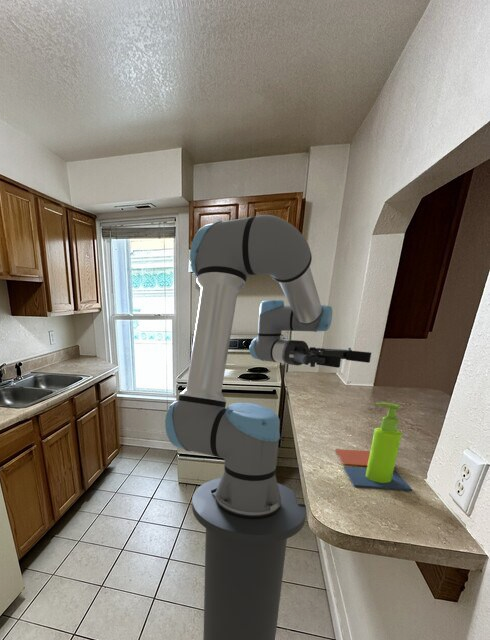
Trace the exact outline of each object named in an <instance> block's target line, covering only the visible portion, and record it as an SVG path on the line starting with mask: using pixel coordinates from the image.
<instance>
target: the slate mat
mask: <svg viewBox="0 0 490 640" xmlns="http://www.w3.org/2000/svg"><path fill="white" fill-rule="evenodd" d="M343 469H344V471H345V472H346V474H347V476H348V478H349V480H350V481H351V483H352V485H353V486H354V487H355V488H356V487H357V488H367V489H379V490H393V491H406V492H413V489H412V488H411V486H410V485H409V484H408V482H406V480H405V479H404V478H403V477H402V476H401V475H400V474H399V473H398V471H397V470H396V469H394V471H393V475H392V480H391V482H388V483H379V482H375V481H372V480H370V479H368V478H367V477H366V471H367V467H359V466H343Z"/></svg>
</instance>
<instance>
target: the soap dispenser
mask: <svg viewBox="0 0 490 640" xmlns="http://www.w3.org/2000/svg"><path fill="white" fill-rule="evenodd" d="M374 406H375V407H386V408H388V411H387V414H386V415H383V416H382V420H381V423H380V424H381V425H380V426H379V427H375V428H374V431H373V435H372V440H371V446H370V450H369V451H370V455H369V460H368V466H367V467H366V468H367V471H366V477H367V478H368V479H370V480H372V481H375V482H379V483H388V482H391V480H392V475H393V471H394V470H395V468H394V467H395V466H396V462H397V457H398V453H399V448H400V444H401V440H402V435H403V432H402V431H401V430H399V429H398V425H399V420H400V418H399V417H397V410H399V409H401V408H402V405H401V404H397V403H393V402H386V401H379V402H376V403H374Z"/></svg>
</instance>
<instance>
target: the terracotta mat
mask: <svg viewBox="0 0 490 640" xmlns="http://www.w3.org/2000/svg"><path fill="white" fill-rule="evenodd" d="M335 452H336V454H337V455H338V457H339V459H340V461H341V462H342V464H343V466H348V467H363V468H367V466H368V460H369V455H370V450H355V449H341V448H340V449H339V448H338V449H337V448H336V449H335ZM394 469H395V466H394Z"/></svg>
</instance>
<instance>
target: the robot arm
mask: <svg viewBox="0 0 490 640" xmlns="http://www.w3.org/2000/svg"><path fill="white" fill-rule="evenodd" d="M309 245H310V244H309V243H308V241H307V239H306V238H305V236H304V235H303V234H302V233H301V232H300V230H299V229H298V228H296V227H295V226H294V225H293V224H291V223H290V222H288V221H286V220H285V219H283V218H282V217H278V216H275V215H272V214H271V215H270V214H261V215H260V214H259V215H256V216H249V217H243V218H238V219H231V220H225V221H223V220H218V221H215V222H213V223H207V224H205V225H203V226H202V227H200V228H199V229H198V230H197V232H196V233H195V234H194V237H193V239H192V242H191V246H190V252H189V260H190V262H191V263H190V269H191V271H192V274H193V275H194V276H195V277H196V283H197V285H198V286H199V287H200V296H199V302H198V309H197V316H196V321H195V322H196V323H195V330H194V335H193V341H192V348H191V355H190V361H189V368H188V375H187V379H186V380H187V381H186V387H185V389H184V390H182V391H181V392H179V393H178V400H175V401H173V402H172V403H170V405H169V408H168V409H167V411H166V413H165V419H164V420H165V421H164V427H165V433H166V436H167V438H168V440H169V442H170V444H172V446H174V447H175V448H179V449H182V450H184V451H187V452H194V453H199V454H203V455H207V456H211V457H216V458H220V459H224V467H223V473H222V475H221V477H220V478H221V480H220V482H219V485H218V487H217V488H216V489H213V490H211V493H214V492H216V503H217V505H218V506H219V508H221V509H222V510H223V511H225V512H226V513H228V514H230V515H233V516H236V517H240V518H245V519H262V518H267V517H270V516H272V515H274V514H276V513H277V512H278V511H279V509H280V506H281V495H280V491H279V488H278V484H277V483H278V481H277V480H278V479H277V475H276V473H277V472H276V471H277V462H278V451H279V443H280V442H279V441H280V438H281V433H280V432H281V431H280V428H281V427H280V424H281V422H280V421H281V420H280V418H279V415H278V414H277V413H276V412H275V411H273V410H272V409H270V408H269V407H266V406H264V405H261V404H256V403H250V402H245V403H244V402H233V403H230V404H229V405H228V406H227V399H226V398H225V397H224V395H223V393H222V392H223V391H222V390H223V384H224V380H225V372H226V366H227V360H228V353H229V348H230V341H231V337H232V331H233V330H232V329H233V324H234V317H235V311H236V305H237V298H238V293H240V291H242V290H243V289H245V287H246V284H247V278H248V276H257V275H268V276H270V277H271V278H272V280H274V281H275V282H277V283H279V285H280V287H281V290H282V292H283V293H284V296H285V298H286V300H287V303H288V304H289V305H285V301H284V300H282V299H267V300H266V299H265V300H262V301H261V302H260V304H259V312H258V325H257V337H254V338H253V339H252V340H251V342H250V345H249V348H248V349H249V354H250V356H251V357H252V358H253V359H255V360H260V361H262V362H270V363H279V364H280V365H281V366H284V365H286V364H287V365H291V366H302V365H306V366H308V365H309V367H310V368H315V367H316V365H317V366H323V367H331V368H340V367H341V361H342V360H346V361H351V362H360V363H367V364H368V363H370V362H371V356H372V352H370V351H360V350H353V349H352V348H351V347H348V348H347V349H341V348H325V347H315V346H309V345H308V343H307V342H306V341H304V340H297V339H290V338H289V339H288V338H281V336H282V333H283V332H315V333H317V332H327V331H328V330H330V329H331V328H330V327H331V324H332V320H333V307H332V306H330V305H326V304H321V300H320V296H319V293H318V290H317V285H316V283H315V279H314V277H313V273H312V270H311V264H312V261H313V260H312V259H313V256H312V251H311V248H310V246H309Z"/></svg>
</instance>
